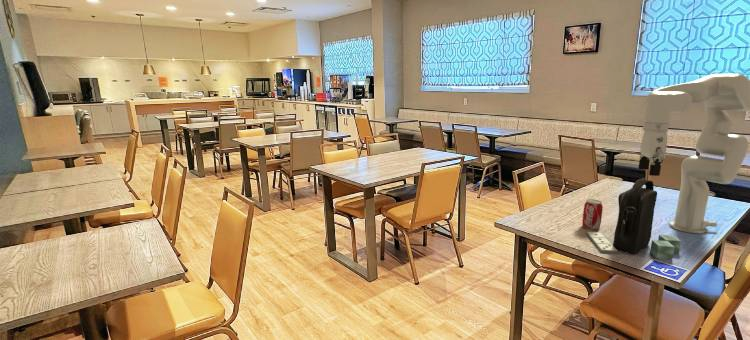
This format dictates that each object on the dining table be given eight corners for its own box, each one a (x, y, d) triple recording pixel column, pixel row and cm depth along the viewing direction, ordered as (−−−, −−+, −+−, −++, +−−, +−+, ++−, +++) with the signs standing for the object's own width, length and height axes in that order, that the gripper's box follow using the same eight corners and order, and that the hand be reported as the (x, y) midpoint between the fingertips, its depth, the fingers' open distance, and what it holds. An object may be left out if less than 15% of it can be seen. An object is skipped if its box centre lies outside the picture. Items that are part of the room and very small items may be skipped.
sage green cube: (665, 253, 142) (667, 241, 141) (672, 259, 137) (674, 246, 136) (649, 252, 143) (652, 240, 142) (656, 258, 138) (658, 245, 137)
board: (600, 234, 159) (600, 232, 159) (617, 253, 142) (618, 250, 142) (585, 233, 160) (586, 231, 160) (601, 252, 143) (601, 249, 143)
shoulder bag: (633, 261, 137) (644, 186, 130) (605, 253, 144) (615, 181, 137) (653, 244, 150) (665, 175, 144) (627, 237, 157) (637, 171, 151)
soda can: (602, 231, 163) (606, 204, 160) (584, 229, 164) (587, 203, 161) (596, 224, 170) (600, 199, 167) (579, 223, 171) (582, 198, 168)
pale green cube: (671, 247, 146) (673, 235, 145) (678, 253, 142) (681, 240, 140) (657, 246, 147) (659, 234, 146) (663, 252, 143) (665, 239, 141)
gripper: (679, 130, 131) (670, 178, 135) (656, 124, 147) (650, 167, 151) (654, 130, 133) (646, 177, 137) (634, 124, 149) (628, 166, 153)
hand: (648, 172), depth 144 cm, fingers open, 9 cm apart
